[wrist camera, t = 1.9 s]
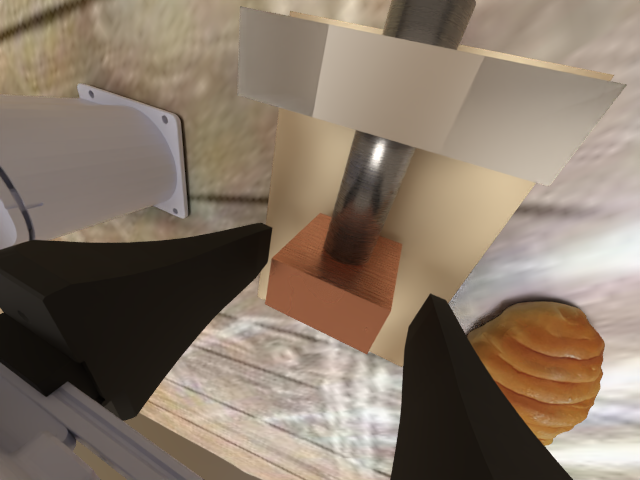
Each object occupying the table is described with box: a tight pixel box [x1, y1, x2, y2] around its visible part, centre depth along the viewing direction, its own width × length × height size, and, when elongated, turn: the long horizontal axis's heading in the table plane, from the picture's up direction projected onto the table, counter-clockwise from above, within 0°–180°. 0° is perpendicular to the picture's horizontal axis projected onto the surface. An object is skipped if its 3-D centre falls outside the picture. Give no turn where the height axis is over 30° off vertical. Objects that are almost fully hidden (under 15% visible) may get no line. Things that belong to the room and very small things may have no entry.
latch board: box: [237, 6, 626, 367], centre depth 11 cm, size 12×18×8 cm
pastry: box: [467, 302, 605, 446], centre depth 14 cm, size 9×7×4 cm
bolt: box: [265, 0, 476, 354], centre depth 9 cm, size 4×10×5 cm, turn 167°
